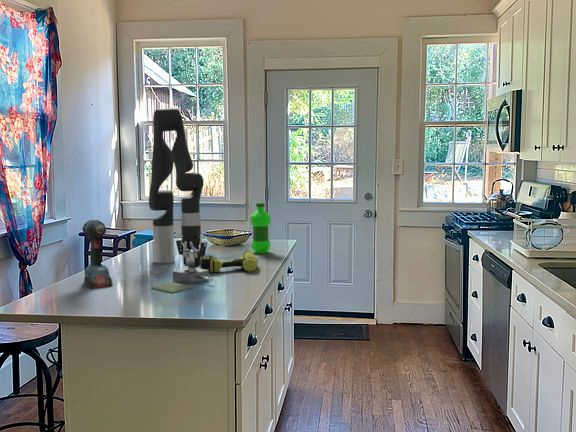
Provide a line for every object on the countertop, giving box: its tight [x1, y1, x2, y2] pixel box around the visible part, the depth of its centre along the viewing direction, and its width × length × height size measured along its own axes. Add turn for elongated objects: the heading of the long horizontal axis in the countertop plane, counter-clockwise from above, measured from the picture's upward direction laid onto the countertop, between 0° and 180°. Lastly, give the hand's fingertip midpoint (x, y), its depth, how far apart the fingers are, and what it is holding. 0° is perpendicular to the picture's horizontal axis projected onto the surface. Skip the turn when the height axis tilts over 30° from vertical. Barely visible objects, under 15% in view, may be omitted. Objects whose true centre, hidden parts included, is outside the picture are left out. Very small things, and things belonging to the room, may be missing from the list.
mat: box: [150, 281, 194, 294], centre depth 215 cm, size 12×10×1 cm
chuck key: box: [185, 250, 197, 272], centre depth 227 cm, size 5×7×11 cm
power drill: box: [82, 219, 114, 289], centre depth 220 cm, size 9×23×25 cm, turn 27°
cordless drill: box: [199, 250, 259, 275], centre depth 252 cm, size 7×25×25 cm
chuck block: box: [172, 267, 214, 286], centre depth 225 cm, size 17×10×4 cm, turn 52°
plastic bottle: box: [250, 202, 272, 254], centre depth 286 cm, size 10×10×25 cm
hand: (192, 266), depth 227 cm, fingers closed on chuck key, 4 cm apart
